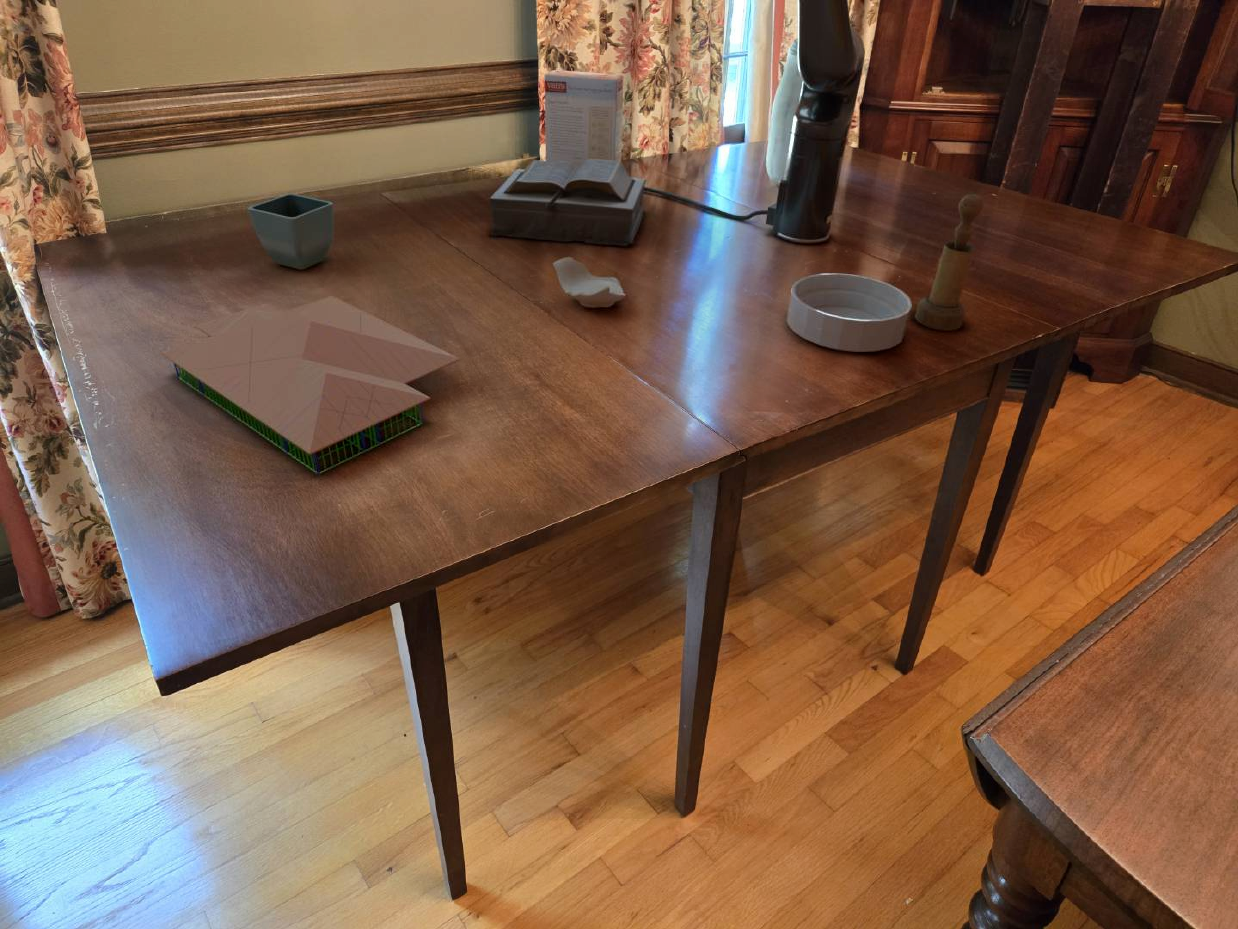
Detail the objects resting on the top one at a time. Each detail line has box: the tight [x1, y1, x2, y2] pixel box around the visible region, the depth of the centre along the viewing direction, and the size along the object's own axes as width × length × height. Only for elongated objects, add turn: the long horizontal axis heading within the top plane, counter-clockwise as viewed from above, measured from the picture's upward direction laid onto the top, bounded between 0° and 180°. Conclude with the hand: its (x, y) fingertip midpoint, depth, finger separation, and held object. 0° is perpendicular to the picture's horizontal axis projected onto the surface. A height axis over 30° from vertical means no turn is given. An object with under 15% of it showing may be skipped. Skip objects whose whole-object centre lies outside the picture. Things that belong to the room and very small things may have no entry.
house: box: [160, 295, 461, 475], centre depth 95 cm, size 23×33×8 cm
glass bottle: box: [765, 37, 803, 186], centre depth 163 cm, size 10×10×28 cm
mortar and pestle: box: [914, 193, 984, 332], centre depth 113 cm, size 7×6×18 cm
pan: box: [786, 272, 913, 353], centre depth 114 cm, size 16×16×5 cm
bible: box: [489, 159, 647, 247], centre depth 144 cm, size 23×27×10 cm
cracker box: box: [544, 69, 624, 166], centre depth 159 cm, size 14×6×21 cm, turn 77°
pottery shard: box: [552, 256, 627, 309], centre depth 118 cm, size 10×11×5 cm
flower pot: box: [247, 193, 334, 271], centre depth 125 cm, size 9×9×9 cm
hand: (978, 22), depth 117 cm, fingers open, 8 cm apart
